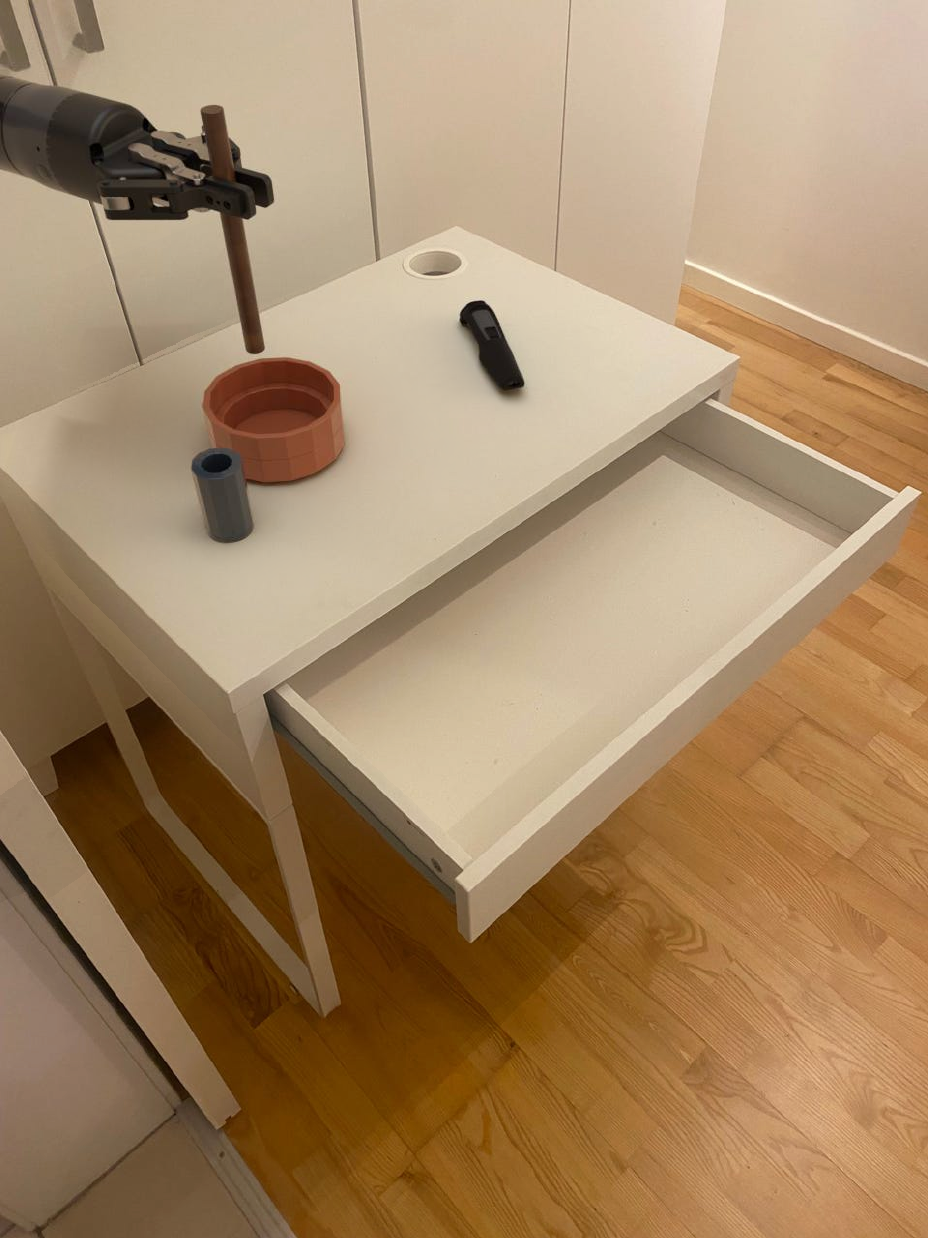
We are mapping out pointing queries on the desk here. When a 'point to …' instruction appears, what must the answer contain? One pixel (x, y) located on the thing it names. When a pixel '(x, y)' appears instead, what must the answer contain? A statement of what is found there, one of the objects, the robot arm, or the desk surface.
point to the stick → (233, 230)
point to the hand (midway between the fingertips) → (260, 197)
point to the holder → (223, 494)
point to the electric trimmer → (492, 345)
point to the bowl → (276, 417)
